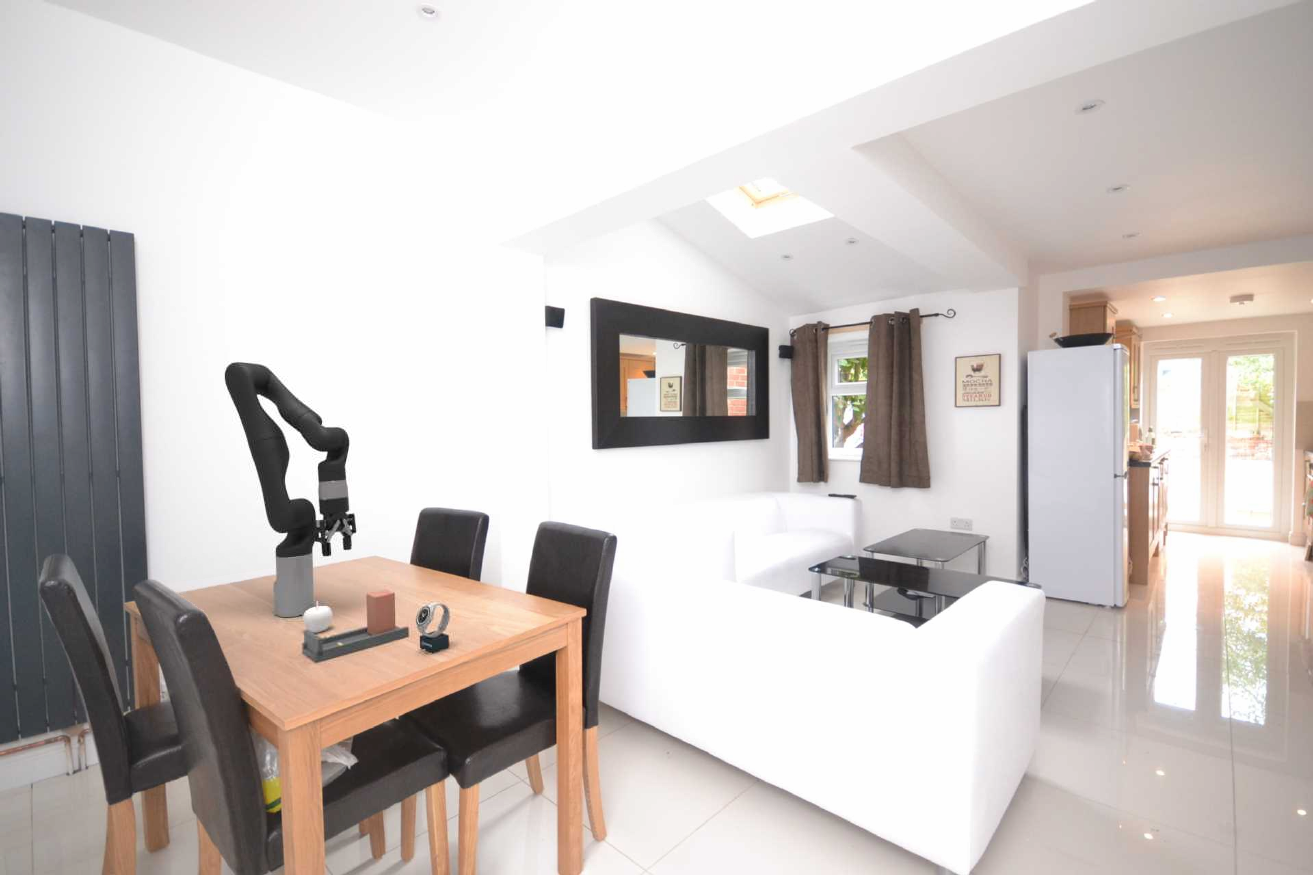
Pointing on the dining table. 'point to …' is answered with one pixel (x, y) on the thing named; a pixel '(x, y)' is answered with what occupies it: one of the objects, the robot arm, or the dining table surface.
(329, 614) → the plain white apple
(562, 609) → the dining table surface
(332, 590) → the dining table surface
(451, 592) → the dining table surface
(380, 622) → the block
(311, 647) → the rail
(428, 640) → the watch
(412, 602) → the dining table surface
